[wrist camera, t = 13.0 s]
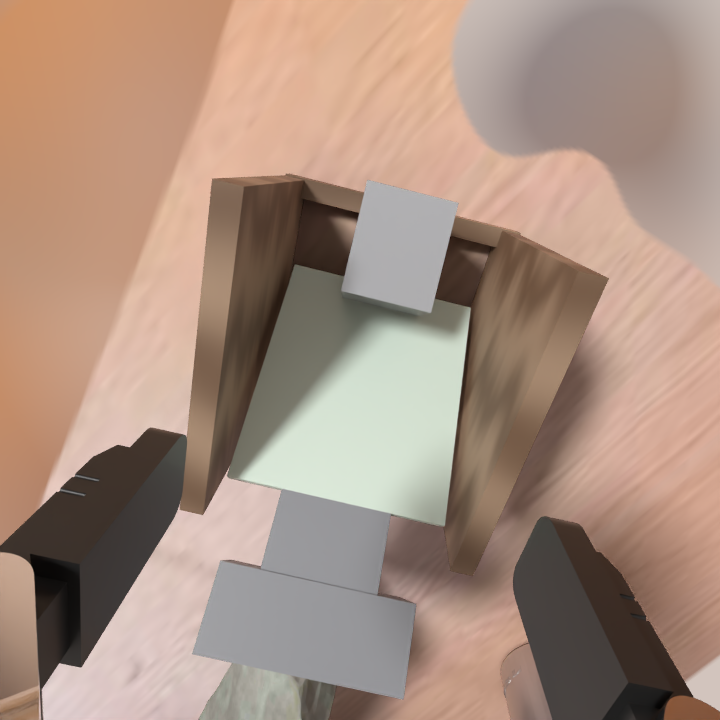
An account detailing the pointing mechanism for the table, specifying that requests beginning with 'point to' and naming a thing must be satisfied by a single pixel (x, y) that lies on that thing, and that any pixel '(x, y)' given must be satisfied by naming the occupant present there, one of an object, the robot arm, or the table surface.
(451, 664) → the table surface
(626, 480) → the table surface
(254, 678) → the rock
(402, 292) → the gray block
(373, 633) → the trapdoor
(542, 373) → the wooden bench shelf
